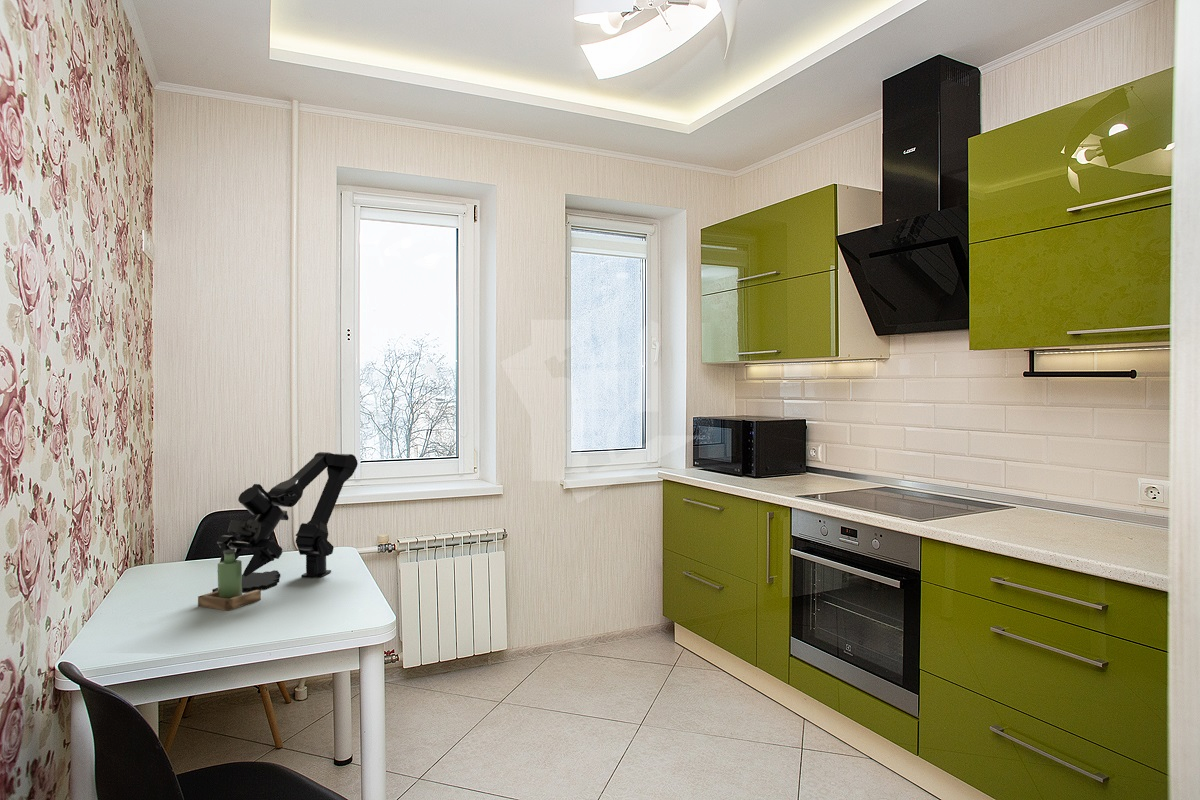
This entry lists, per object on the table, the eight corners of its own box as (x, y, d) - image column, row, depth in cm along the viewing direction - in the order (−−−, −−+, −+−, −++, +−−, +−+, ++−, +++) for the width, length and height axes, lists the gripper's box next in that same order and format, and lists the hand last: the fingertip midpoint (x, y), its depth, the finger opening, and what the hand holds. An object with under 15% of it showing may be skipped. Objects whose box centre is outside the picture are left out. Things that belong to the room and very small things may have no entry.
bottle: (238, 596, 187) (237, 546, 187) (245, 600, 183) (244, 550, 183) (215, 600, 183) (214, 550, 183) (221, 605, 179) (220, 553, 179)
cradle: (231, 595, 190) (231, 586, 190) (260, 599, 186) (260, 590, 186) (198, 606, 181) (197, 596, 181) (228, 610, 177) (228, 600, 177)
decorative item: (242, 568, 215) (300, 571, 211) (242, 573, 215) (300, 576, 211) (184, 589, 192) (247, 593, 188) (184, 595, 192) (247, 598, 188)
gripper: (221, 506, 192) (186, 555, 182) (272, 509, 185) (238, 560, 175) (246, 528, 199) (213, 577, 189) (296, 533, 192) (264, 583, 182)
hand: (231, 574), depth 184 cm, fingers open, 9 cm apart
